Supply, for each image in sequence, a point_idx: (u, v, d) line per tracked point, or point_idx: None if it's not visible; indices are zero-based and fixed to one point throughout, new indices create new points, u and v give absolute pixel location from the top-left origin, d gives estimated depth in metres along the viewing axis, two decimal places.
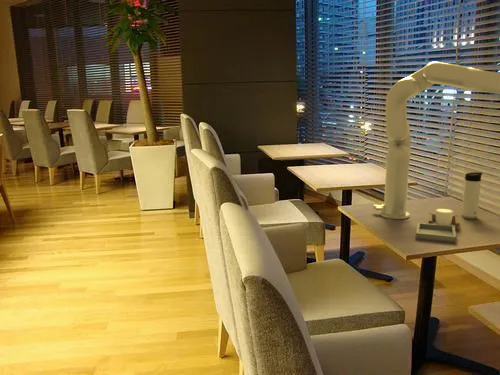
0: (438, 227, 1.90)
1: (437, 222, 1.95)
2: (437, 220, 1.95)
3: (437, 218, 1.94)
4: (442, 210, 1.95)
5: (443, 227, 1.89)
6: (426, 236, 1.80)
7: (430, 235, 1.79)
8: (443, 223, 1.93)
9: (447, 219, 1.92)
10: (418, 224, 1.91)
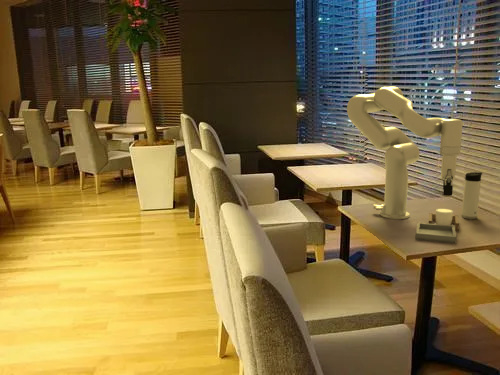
0: (438, 227, 1.90)
1: (437, 222, 1.95)
2: (437, 220, 1.95)
3: (437, 218, 1.94)
4: (442, 210, 1.95)
5: (443, 227, 1.89)
6: (426, 236, 1.80)
7: (430, 235, 1.79)
8: (443, 223, 1.93)
9: (447, 219, 1.92)
10: (418, 224, 1.91)
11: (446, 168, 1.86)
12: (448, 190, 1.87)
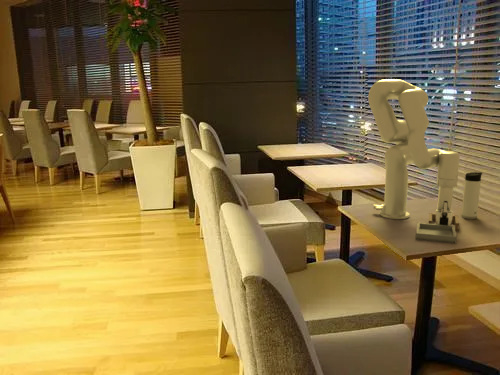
0: (438, 227, 1.90)
1: (437, 222, 1.95)
2: (437, 220, 1.95)
3: (437, 218, 1.94)
4: None
5: (443, 227, 1.89)
6: (426, 236, 1.80)
7: (430, 235, 1.79)
8: None
9: None
10: (418, 224, 1.91)
11: (442, 200, 1.89)
12: (444, 222, 1.91)
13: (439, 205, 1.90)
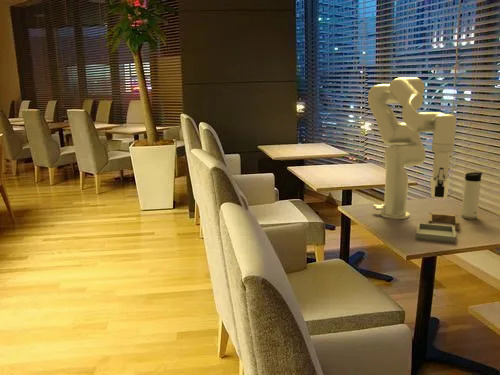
0: (438, 227, 1.90)
1: (432, 191, 1.81)
2: (432, 189, 1.80)
3: (432, 187, 1.80)
4: None
5: (443, 227, 1.89)
6: (426, 236, 1.80)
7: (430, 235, 1.79)
8: None
9: None
10: (418, 224, 1.91)
11: (438, 166, 1.75)
12: (439, 191, 1.77)
13: (434, 172, 1.76)
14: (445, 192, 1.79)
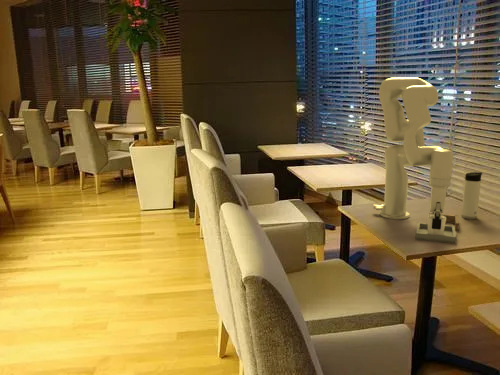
0: None
1: (429, 229, 1.84)
2: (429, 227, 1.83)
3: (429, 225, 1.83)
4: None
5: None
6: (426, 236, 1.80)
7: (430, 235, 1.79)
8: (435, 230, 1.82)
9: None
10: (418, 224, 1.91)
11: (435, 201, 1.78)
12: (437, 224, 1.79)
13: (431, 206, 1.79)
14: (441, 230, 1.82)
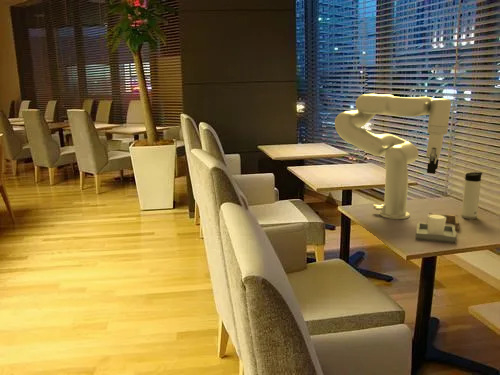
0: None
1: (429, 229, 1.84)
2: (429, 227, 1.83)
3: (429, 225, 1.83)
4: (434, 216, 1.84)
5: None
6: (426, 236, 1.80)
7: (430, 235, 1.79)
8: (435, 230, 1.82)
9: (439, 226, 1.81)
10: (418, 224, 1.91)
11: (431, 146, 1.90)
12: (431, 168, 1.91)
13: (427, 152, 1.91)
14: (441, 230, 1.82)
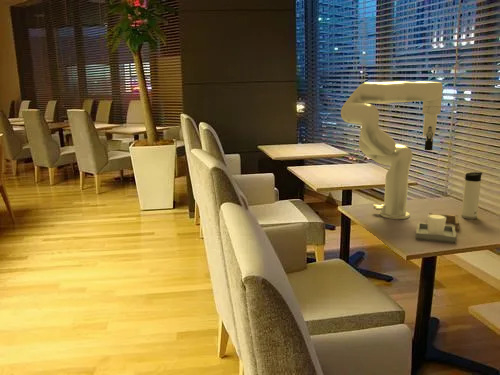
0: None
1: (429, 229, 1.84)
2: (429, 227, 1.83)
3: (429, 225, 1.83)
4: (434, 216, 1.84)
5: None
6: (426, 236, 1.80)
7: (430, 235, 1.79)
8: (435, 230, 1.82)
9: (439, 226, 1.81)
10: (418, 224, 1.91)
11: (427, 125, 2.09)
12: (429, 145, 2.10)
13: (424, 131, 2.10)
14: (441, 230, 1.82)
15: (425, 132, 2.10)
